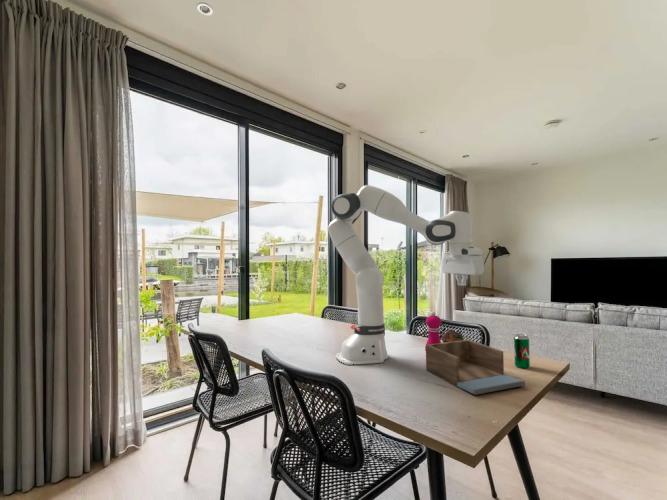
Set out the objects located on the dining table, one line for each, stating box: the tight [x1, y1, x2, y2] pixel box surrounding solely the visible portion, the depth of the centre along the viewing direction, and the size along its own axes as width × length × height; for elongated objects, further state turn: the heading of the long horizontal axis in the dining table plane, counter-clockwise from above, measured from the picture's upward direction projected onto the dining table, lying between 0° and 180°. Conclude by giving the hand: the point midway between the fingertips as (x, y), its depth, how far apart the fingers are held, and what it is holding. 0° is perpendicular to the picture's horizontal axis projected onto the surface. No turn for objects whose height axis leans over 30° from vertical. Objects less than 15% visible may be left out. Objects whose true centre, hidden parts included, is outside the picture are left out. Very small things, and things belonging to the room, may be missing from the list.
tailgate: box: [457, 374, 526, 396], centre depth 106 cm, size 20×1×8 cm
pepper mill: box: [424, 311, 442, 352], centre depth 134 cm, size 7×7×20 cm
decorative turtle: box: [441, 328, 465, 343], centre depth 151 cm, size 10×15×8 cm, turn 170°
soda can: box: [513, 333, 531, 370], centre depth 125 cm, size 5×5×12 cm
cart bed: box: [425, 339, 505, 388], centre depth 118 cm, size 20×17×10 cm
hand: (461, 285), depth 130 cm, fingers closed
